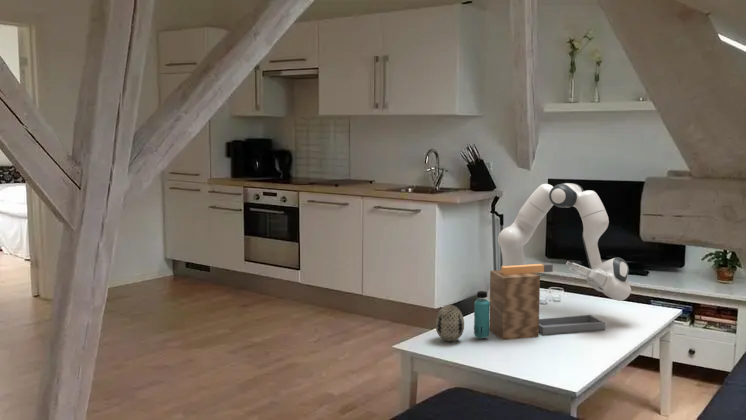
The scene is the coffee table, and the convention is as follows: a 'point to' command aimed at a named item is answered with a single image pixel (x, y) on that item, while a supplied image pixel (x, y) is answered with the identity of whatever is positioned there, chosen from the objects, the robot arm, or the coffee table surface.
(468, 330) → the coffee table surface
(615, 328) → the coffee table surface
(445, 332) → the decorative egg
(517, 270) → the marker
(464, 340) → the coffee table surface
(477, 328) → the beverage bottle
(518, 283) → the stand
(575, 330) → the tray
